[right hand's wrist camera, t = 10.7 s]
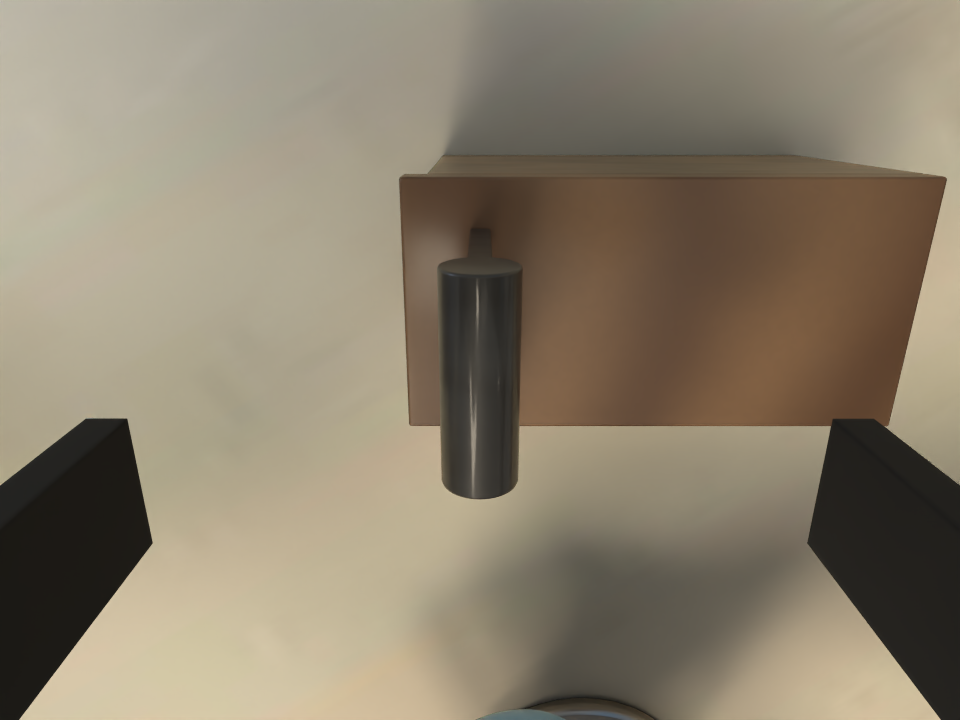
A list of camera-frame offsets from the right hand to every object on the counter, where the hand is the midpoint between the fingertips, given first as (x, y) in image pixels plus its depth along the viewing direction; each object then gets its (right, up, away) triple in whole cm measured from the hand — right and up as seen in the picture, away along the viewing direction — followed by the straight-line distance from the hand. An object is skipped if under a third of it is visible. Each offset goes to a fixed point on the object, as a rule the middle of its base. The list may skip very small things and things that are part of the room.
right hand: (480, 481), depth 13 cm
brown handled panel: (+6, +4, +12) cm, 14 cm away
